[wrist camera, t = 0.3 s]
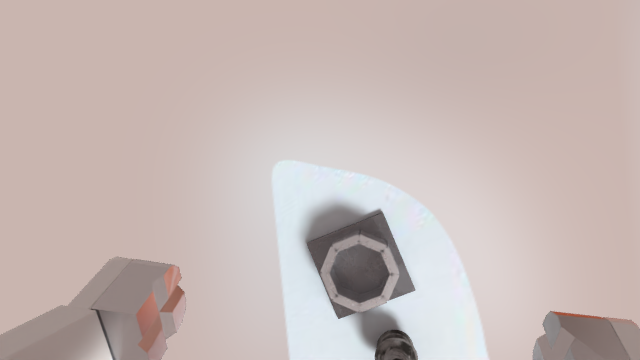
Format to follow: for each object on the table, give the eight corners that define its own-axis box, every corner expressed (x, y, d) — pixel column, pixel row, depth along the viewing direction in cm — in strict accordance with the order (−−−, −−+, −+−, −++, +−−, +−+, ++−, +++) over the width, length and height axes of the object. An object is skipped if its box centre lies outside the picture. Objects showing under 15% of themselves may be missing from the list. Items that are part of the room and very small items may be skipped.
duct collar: (415, 289, 62) (418, 299, 57) (338, 317, 63) (335, 329, 59) (382, 212, 62) (383, 216, 57) (307, 242, 63) (302, 248, 59)
